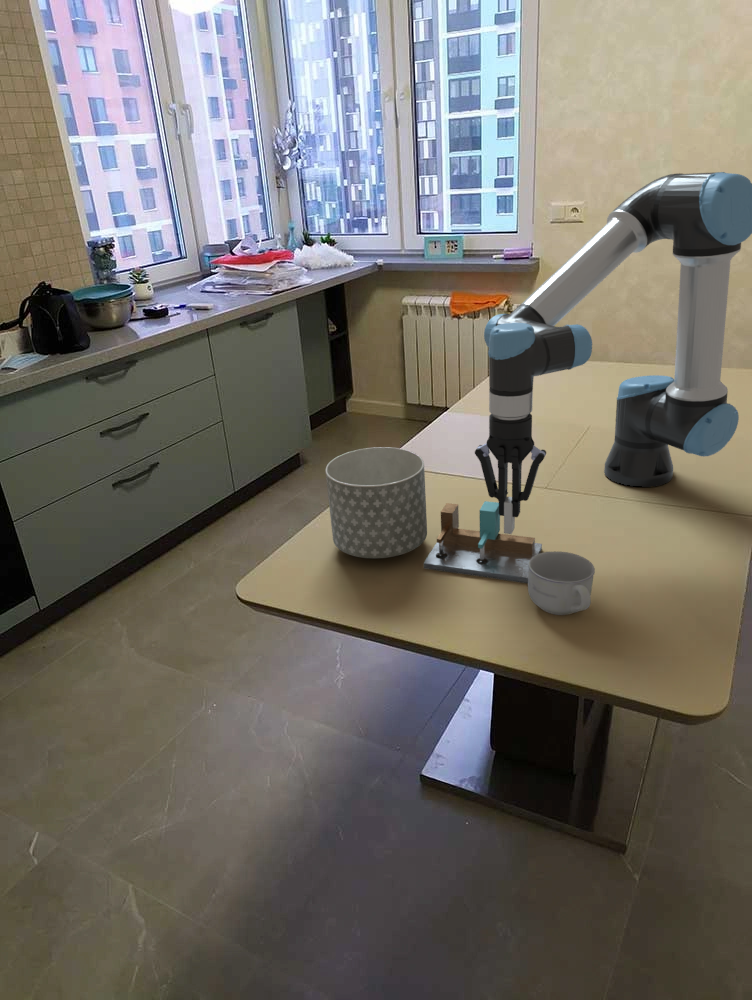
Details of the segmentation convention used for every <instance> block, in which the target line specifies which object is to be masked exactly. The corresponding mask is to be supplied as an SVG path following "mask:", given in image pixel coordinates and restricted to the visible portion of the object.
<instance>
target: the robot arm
mask: <svg viewBox="0 0 752 1000" xmlns="http://www.w3.org/2000/svg"><path fill="white" fill-rule="evenodd" d="M606 218H607V219H606V224H605V225H604V226H602V228H600V229H599V231H597V232H596V233H595V235H593V236H592V237H591V238H590V239H588V241H587V242H586V243H584V244H583V246H581V247H580V248H579V249H578V250H577V251H575V253H574V254H573V255H572V256H570V258H569V259H568V260H566V261H565V262H564V263H563V264H562V265H561V266H560V267H559V268H558V269H557V270H556V271H555V272H554V273H552V275H550V276H549V277H548V278H547V279H546V280H545V281H544V282H543V283H542V284H540V286H538V287H537V288H536V290H534V291H533V292H532V293H531V294H530V295H529V296H528V297H527V298H525V300H524V301H523V302H522V303H520V304H519V306H517V307H516V308H515V309H514V310H513V311H512V312H510V313H498V314H496V315H494V316H491V318H490V319H489V320H488V321H487V322H486V325H485V328H484V330H483V337H484V338H483V339H484V342H485V344H486V346H487V348H488V353H487V354H488V374H489V375H488V376H489V377H488V379H489V381H488V383H489V384H488V385H489V391H488V393H489V395H488V396H489V397H488V401H489V402H488V403H489V404H488V410H489V413H490V414H489V416H488V429H489V430H488V431H489V433H488V434H489V435H488V439H487V440H486V443H484V444H479V445H478V446H477V447H476V449H475V450H474V455H475V456H476V458H477V459H478V460H479V463H480V467H481V470H482V474H483V478H484V482H485V485H486V489H487V493H488V496H489V498H495V499H496V500H497V501H498V503H499V515H500V517H503V534H507V535H513V532H514V530H515V525H516V524H515V523H516V522H515V521H516V519H515V518H518V517H519V516H520V513H521V502H522V501H524V502H527V501H528V500H529V498H530V495H531V493H532V491H533V487H534V484H535V480H536V477H537V474H538V470H539V467H540V465H541V463H542V462H543V461H544V459H545V457H546V454H547V451H546V450H545V449H540V448H538V447H537V446H536V445H535V441H534V439H533V437H532V436H533V435H532V434H533V415H532V414H531V413H532V412H533V398H534V397H533V394H534V393H533V392H534V377H538V376H543V375H547V374H552V373H557V372H562V371H566V370H568V371H569V370H572V369H575V368H577V367H579V366H583V365H585V364H586V363H587V362H588V361H589V360H590V358H591V357H592V352H593V339H592V337H591V334H590V332H589V331H588V329H587V328H586V327H584V325H582V324H581V325H580V324H564V325H563V326H556V325H557V324H558V323H559V322H560V321H561V320H563V319H564V318H565V317H566V315H568V314H569V313H570V312H571V311H572V310H573V309H574V308H575V307H576V306H578V304H579V303H580V302H581V301H582V300H584V299H585V298H586V297H587V296H588V295H589V294H590V293H591V292H593V290H594V289H595V288H596V287H597V286H599V284H601V283H602V282H603V281H604V280H605V279H606V278H608V277H609V275H611V273H612V272H613V271H615V270H616V269H617V268H618V267H619V266H620V265H621V264H622V263H623V262H624V261H625V260H626V259H627V258H629V256H630V255H632V254H633V253H634V254H635V253H636V254H637V253H640V252H642V251H644V250H645V248H646V247H648V246H649V245H650V244H652V243H654V242H656V241H662V240H672V241H673V242H672V243H673V244H672V256H674V257H675V258H676V260H678V261H679V263H680V271H679V273H680V274H679V286H678V287H679V290H678V292H679V293H678V305H677V306H678V309H677V310H678V311H677V325H676V326H677V327H676V342H675V343H676V344H675V345H676V346H675V347H676V348H675V361H674V362H675V363H674V364H675V365H674V378H673V377H672V376H668V375H656V374H655V375H640V376H635V377H634V376H633V377H630V378H627V379H625V380H623V381H621V383H620V384H619V387H618V394H617V397H616V411H615V428H614V429H615V430H614V442H613V444H612V446H611V449H610V451H609V453H608V455H607V458H606V460H605V462H604V469H603V470H604V471H603V472H604V473H605V474H604V476H605V475H606V476H607V477H608V478H609V479H608V478H607V477H606V476H605V477H606V478H607V479H608V480H610V479H611V480H610V481H612V482H614V481H615V482H614V483H616V482H617V483H616V484H619V483H621V484H620V485H622V484H624V486H627V485H630V486H629V487H633V486H642V487H641V488H652V487H651V486H654V487H659V486H663V485H665V483H666V484H668V483H669V482H670V481H671V480H672V479H673V476H674V475H673V474H674V465H673V464H674V463H673V461H672V457H671V452H670V449H669V446H671V447H674V448H675V449H678V450H680V451H684V453H686V454H688V455H689V454H691V455H692V454H693V455H695V456H699V457H710V456H713V455H715V454H717V453H718V452H720V451H722V450H723V449H724V448H725V447H726V446H727V444H729V442H730V441H731V439H732V438H733V436H734V434H735V433H736V430H737V428H738V425H739V418H740V417H739V416H740V415H739V412H738V410H737V409H736V406H734V405H733V404H731V403H728V402H727V401H728V392H729V391H728V387H727V386H726V385H725V384H724V383H723V382H722V381H721V376H722V367H723V365H722V364H723V352H724V341H725V340H724V339H725V329H726V318H727V308H728V307H727V306H728V295H729V282H730V272H731V261H732V259H733V258H734V257H735V256H736V255H737V254H738V253H739V252H740V251H741V249H742V243H743V242H745V241H746V240H748V239H749V238H750V237H751V235H752V182H751V179H750V178H748V177H746V176H745V175H742V174H739V173H730V172H725V171H721V172H719V171H718V172H717V171H716V172H699V173H698V172H693V173H680V172H679V173H671V174H667V175H664V176H661V177H658V178H656V179H654V180H652V181H651V182H649V183H647V184H645V185H644V186H642V187H641V188H639V189H638V190H636V191H635V192H634V193H632V194H631V195H630V196H629V197H627V198H626V199H625V200H623V201H622V202H621V203H620V204H619V205H617V206H616V208H614V209H613V210H612V211H611V212H610V213H609V215H608V216H607V217H606ZM490 453H492V455H493V456H494V458H495V459H496V460H497V469H498V470H497V471H498V473H497V475H498V476H497V477H498V478H497V480H496V475H495V471H494V469H493V464H492V460H491V456H490ZM530 453H531V456H530V458H531V460H532V463H531V465H530V469H529V471H528V474H527V477H526V481H525V484H524V487H523V491H522V466H523V462H524V460H525V459H526V458H527V456H528V455H529V454H530ZM508 464H511V470H512V471H511V477H512V478H511V496H508V494H509V492H508V481H509V480H508V479H509V477H508V475H509V473H508V472H509V467H508V466H509V465H508ZM497 482H498V484H497Z"/></svg>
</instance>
